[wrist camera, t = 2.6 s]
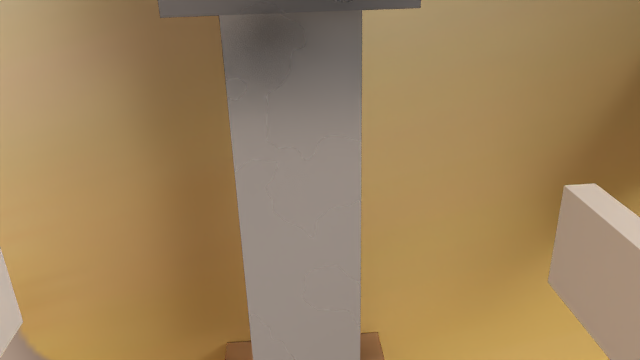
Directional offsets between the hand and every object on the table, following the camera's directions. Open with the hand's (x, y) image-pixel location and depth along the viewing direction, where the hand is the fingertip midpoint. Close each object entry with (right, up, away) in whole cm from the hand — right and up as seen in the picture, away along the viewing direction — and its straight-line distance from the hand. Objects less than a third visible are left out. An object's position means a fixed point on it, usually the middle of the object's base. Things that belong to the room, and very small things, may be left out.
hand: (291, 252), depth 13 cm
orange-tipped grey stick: (0, +6, +5) cm, 8 cm away
